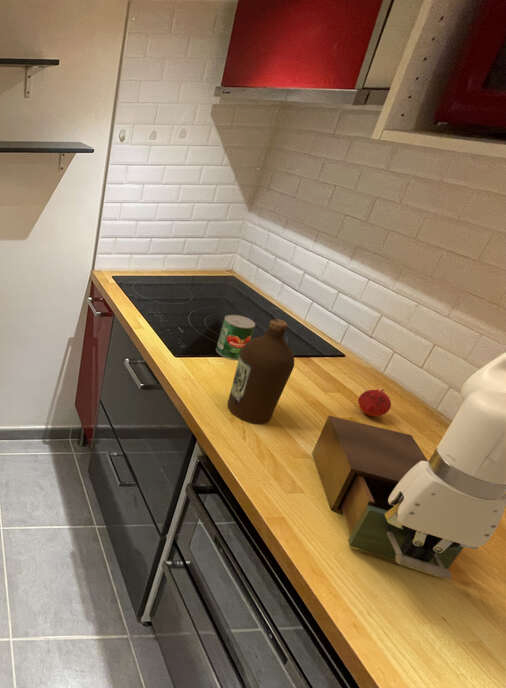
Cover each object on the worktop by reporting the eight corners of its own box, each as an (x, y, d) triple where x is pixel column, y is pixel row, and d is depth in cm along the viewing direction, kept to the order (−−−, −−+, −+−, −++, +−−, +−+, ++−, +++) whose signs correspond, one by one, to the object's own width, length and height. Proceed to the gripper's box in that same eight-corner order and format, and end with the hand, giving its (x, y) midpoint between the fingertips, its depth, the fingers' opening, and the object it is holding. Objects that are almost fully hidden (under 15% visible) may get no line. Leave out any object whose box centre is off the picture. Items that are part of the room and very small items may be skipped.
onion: (385, 426, 105) (399, 399, 102) (355, 417, 108) (368, 390, 105) (381, 412, 110) (394, 386, 106) (352, 404, 112) (364, 378, 109)
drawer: (461, 611, 67) (490, 573, 63) (360, 576, 72) (382, 539, 68) (406, 506, 84) (427, 471, 80) (327, 483, 88) (343, 450, 85)
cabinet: (422, 537, 79) (450, 495, 75) (330, 510, 84) (351, 468, 80) (389, 474, 92) (411, 435, 88) (311, 453, 97) (328, 415, 93)
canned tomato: (229, 344, 138) (238, 312, 134) (251, 357, 132) (262, 325, 127) (209, 348, 136) (218, 316, 131) (231, 362, 129) (241, 329, 124)
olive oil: (265, 401, 113) (297, 314, 103) (280, 430, 103) (316, 337, 93) (220, 394, 115) (246, 308, 105) (229, 421, 106) (259, 329, 96)
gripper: (523, 471, 63) (461, 557, 71) (390, 439, 68) (347, 521, 76) (559, 513, 57) (488, 602, 64) (410, 474, 62) (360, 560, 70)
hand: (411, 558), depth 70 cm, fingers closed
